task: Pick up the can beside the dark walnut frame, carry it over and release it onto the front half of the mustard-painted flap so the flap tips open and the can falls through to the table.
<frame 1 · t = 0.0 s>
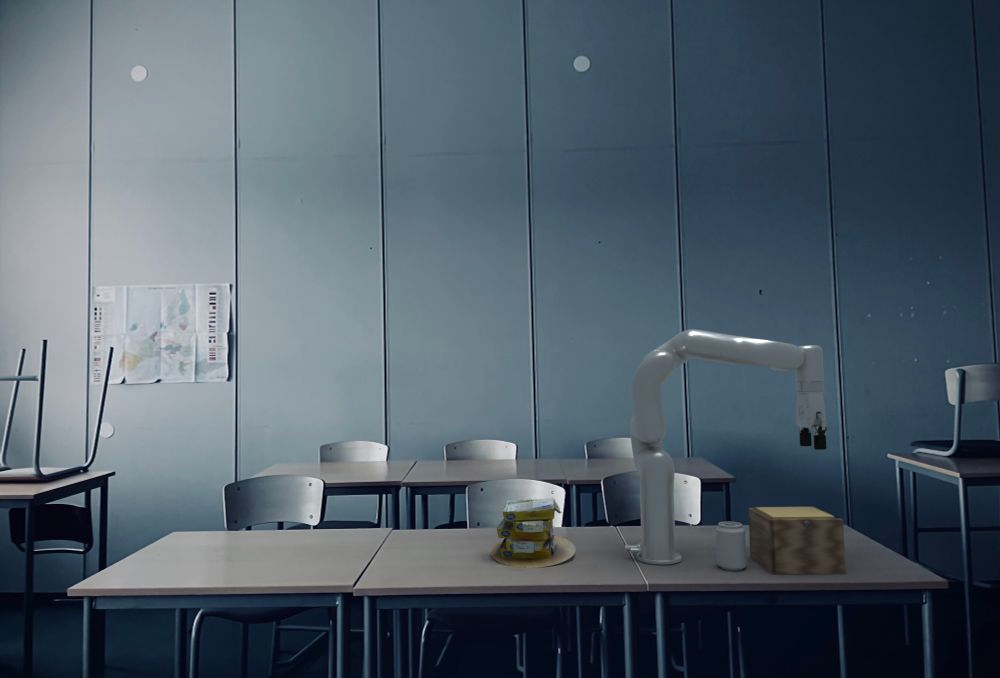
hand: (812, 447, 194), 31 cm above the table, tool pointing down, fingers open, 9 cm apart
trapdoor frame: (795, 565, 186), on the table
trapdoor flap: (793, 513, 187), point 14 cm above the table, hinge at 0.0°
can: (731, 568, 184), on the table
stacked yellow boxes: (533, 557, 200), on the table
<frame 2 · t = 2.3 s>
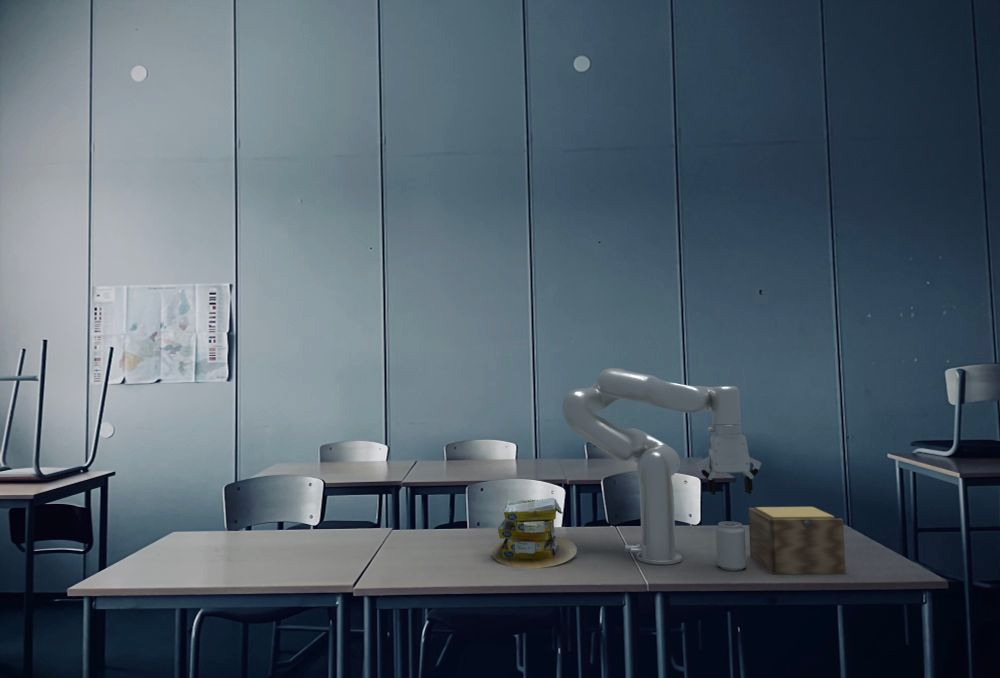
hand: (730, 493, 185), 20 cm above the table, tool pointing down, fingers open, 9 cm apart
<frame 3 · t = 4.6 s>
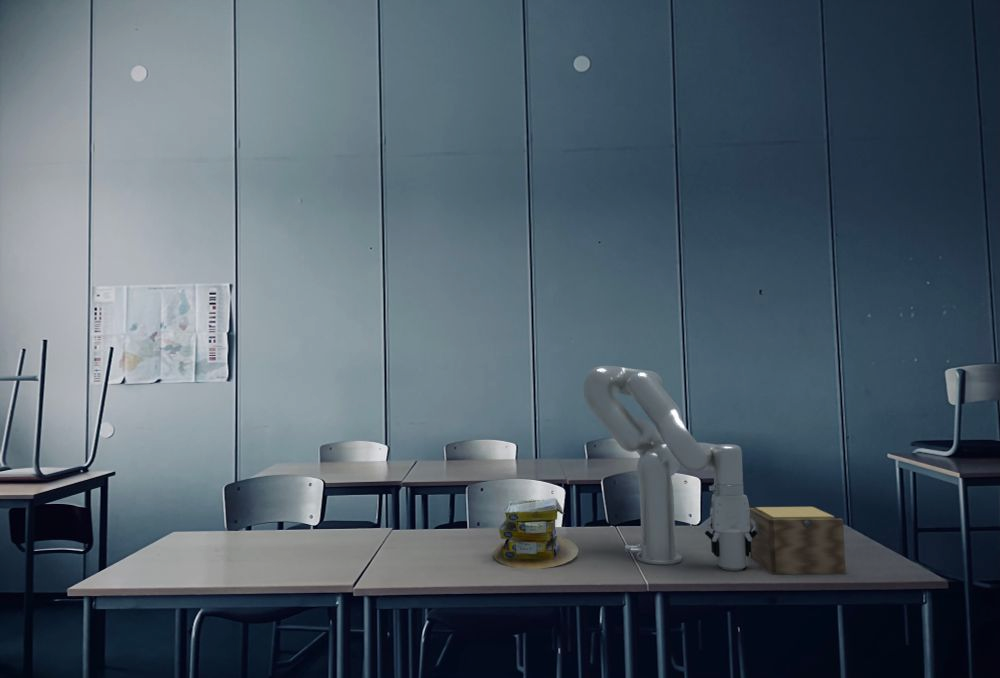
hand: (731, 554, 185), 3 cm above the table, tool pointing down, fingers closed on can, 7 cm apart
can: (731, 568, 184), on the table, touching gripper
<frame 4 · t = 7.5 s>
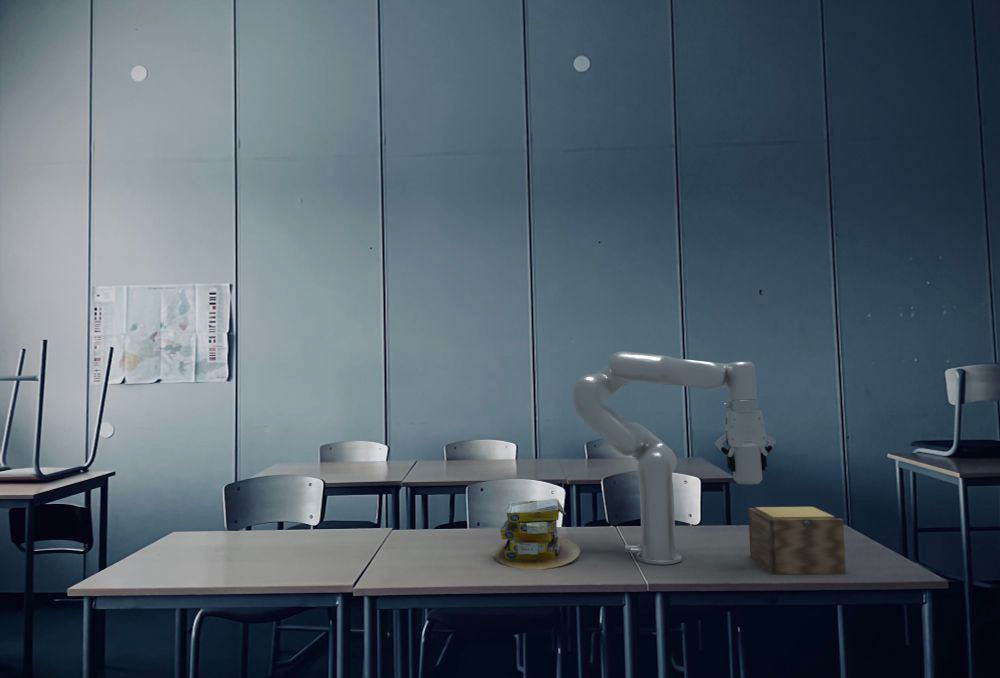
hand: (747, 470, 186), 26 cm above the table, tool pointing down, fingers closed on can, 7 cm apart
can: (748, 483, 186), point 23 cm above the table, touching gripper
when the fingers open (21 cm above the table, at t = 10.4 s): can drops 3 cm, resting on trapdoor flap.
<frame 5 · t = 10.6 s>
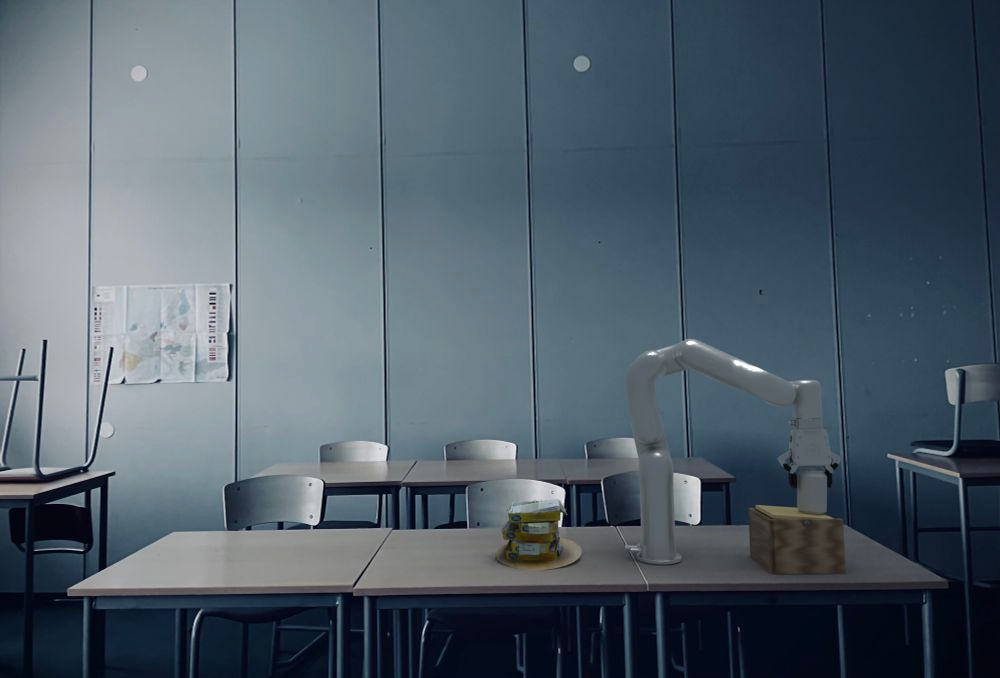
hand: (810, 487, 187), 21 cm above the table, tool pointing down, fingers open, 8 cm apart
trapdoor flap: (793, 513, 187), point 14 cm above the table, hinge at 4.6°, touching can
can: (811, 513, 186), point 14 cm above the table, touching gripper, trapdoor flap
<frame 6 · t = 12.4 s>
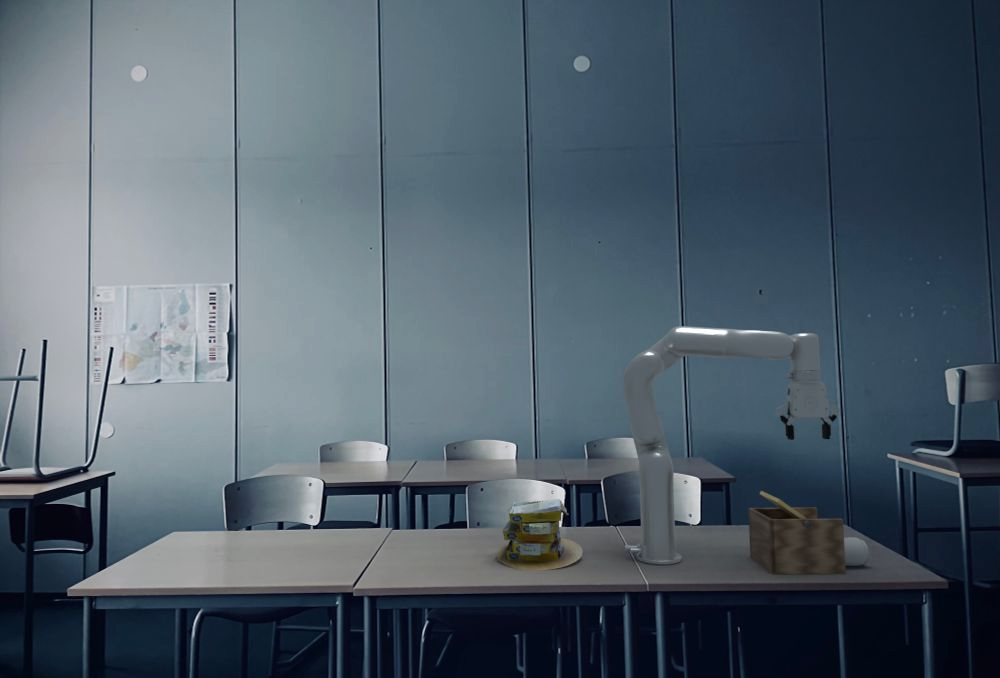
hand: (808, 439, 188), 34 cm above the table, tool pointing down, fingers open, 9 cm apart
trapdoor flap: (793, 513, 187), point 14 cm above the table, hinge at 36.4°
can: (819, 552, 185), point 4 cm above the table
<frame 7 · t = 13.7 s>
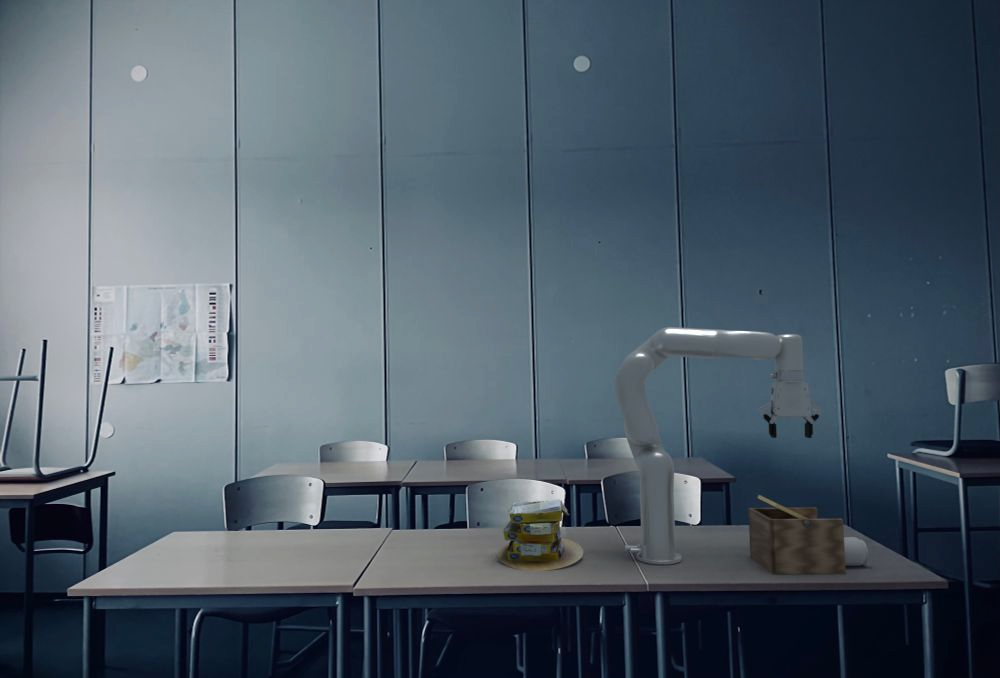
hand: (790, 437, 193), 34 cm above the table, tool pointing down, fingers open, 9 cm apart
trapdoor flap: (793, 513, 187), point 14 cm above the table, hinge at 26.7°
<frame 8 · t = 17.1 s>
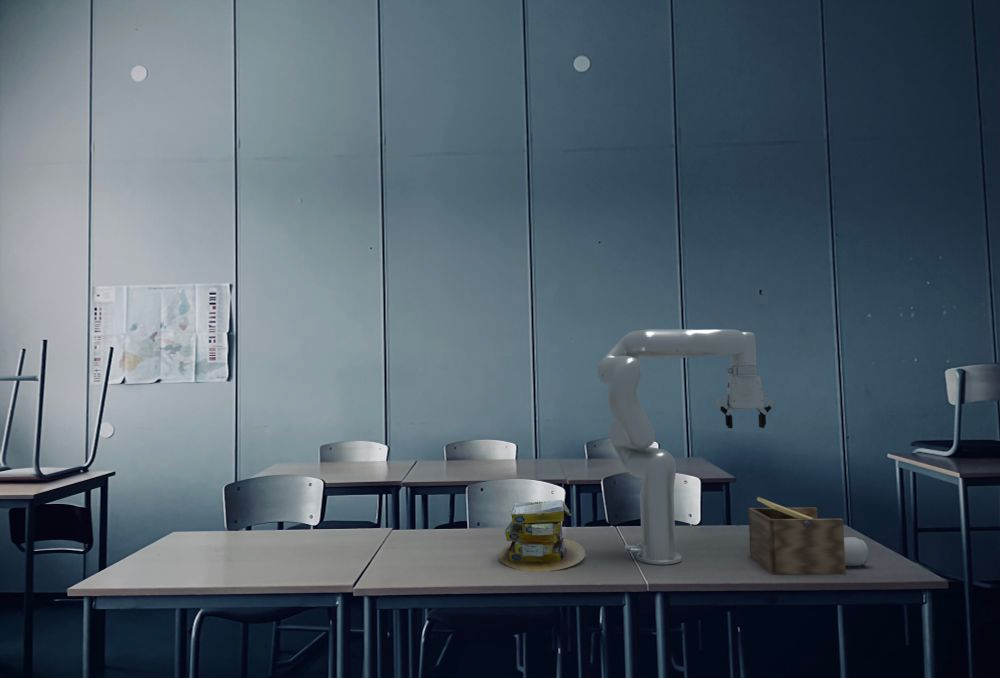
hand: (745, 427, 207), 36 cm above the table, tool pointing down, fingers open, 9 cm apart
trapdoor flap: (793, 513, 187), point 14 cm above the table, hinge at 21.8°
at the end: can point 3.7 cm above the table; can moved 24.3 cm from its start; the gripper is holding nothing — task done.
